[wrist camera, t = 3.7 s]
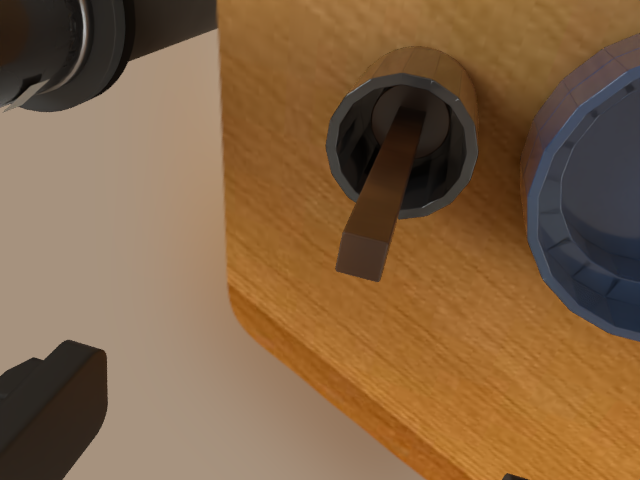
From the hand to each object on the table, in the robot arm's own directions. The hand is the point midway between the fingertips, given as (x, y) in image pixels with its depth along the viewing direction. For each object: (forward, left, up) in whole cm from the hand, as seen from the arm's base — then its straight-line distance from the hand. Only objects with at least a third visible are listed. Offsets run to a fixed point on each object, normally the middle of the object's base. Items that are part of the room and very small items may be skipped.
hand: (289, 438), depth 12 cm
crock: (0, 0, -24) cm, 24 cm away
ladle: (0, 0, -24) cm, 24 cm away
